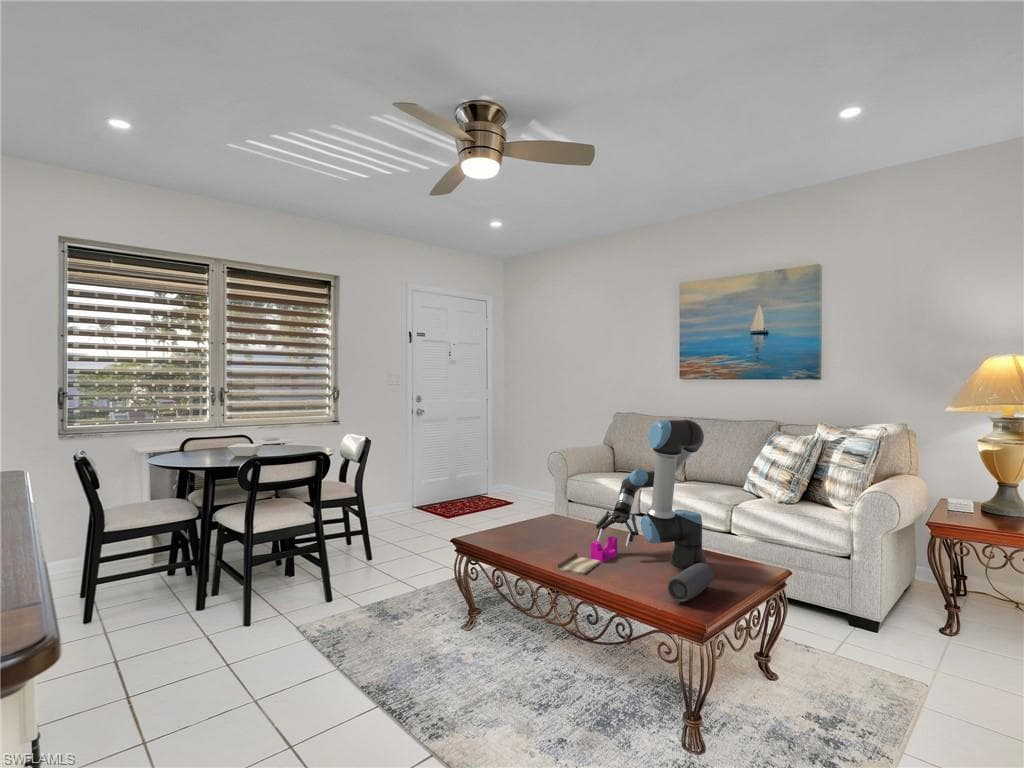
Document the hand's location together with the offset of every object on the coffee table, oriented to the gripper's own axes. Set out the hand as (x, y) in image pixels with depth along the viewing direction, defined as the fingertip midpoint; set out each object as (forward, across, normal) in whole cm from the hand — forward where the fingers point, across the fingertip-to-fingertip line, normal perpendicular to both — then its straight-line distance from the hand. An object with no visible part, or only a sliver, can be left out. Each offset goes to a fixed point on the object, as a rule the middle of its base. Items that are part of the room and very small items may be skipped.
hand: (612, 544), depth 246 cm
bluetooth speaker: (+23, -41, +14) cm, 49 cm away
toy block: (+4, +3, -4) cm, 7 cm away
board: (+17, +8, +9) cm, 21 cm away
